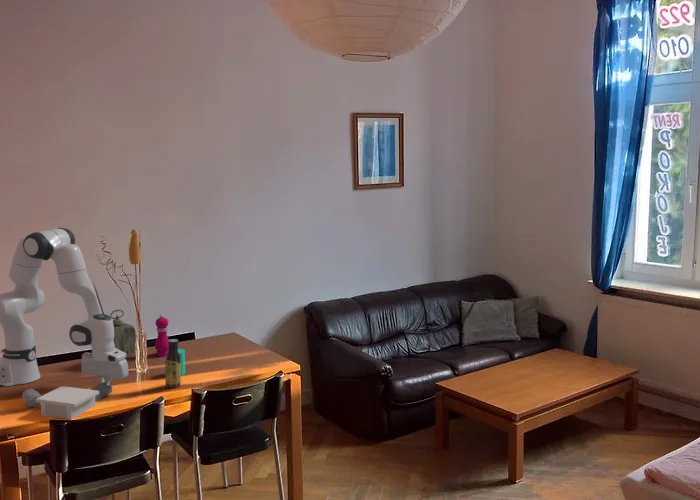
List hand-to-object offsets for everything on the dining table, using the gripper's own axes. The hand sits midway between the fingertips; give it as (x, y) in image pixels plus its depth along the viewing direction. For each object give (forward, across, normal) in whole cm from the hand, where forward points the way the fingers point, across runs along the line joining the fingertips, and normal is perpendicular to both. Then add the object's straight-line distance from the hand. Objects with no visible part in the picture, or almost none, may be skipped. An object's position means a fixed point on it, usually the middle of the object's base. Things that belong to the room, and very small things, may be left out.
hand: (105, 386), depth 274 cm
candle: (+2, +18, +27) cm, 32 cm away
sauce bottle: (+2, +24, +12) cm, 27 cm away
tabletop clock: (+2, -16, +33) cm, 37 cm away
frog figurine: (+2, -16, -23) cm, 28 cm away
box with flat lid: (+2, 0, -21) cm, 21 cm away
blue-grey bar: (+2, +1, -10) cm, 10 cm away
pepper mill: (+2, -3, +49) cm, 49 cm away
